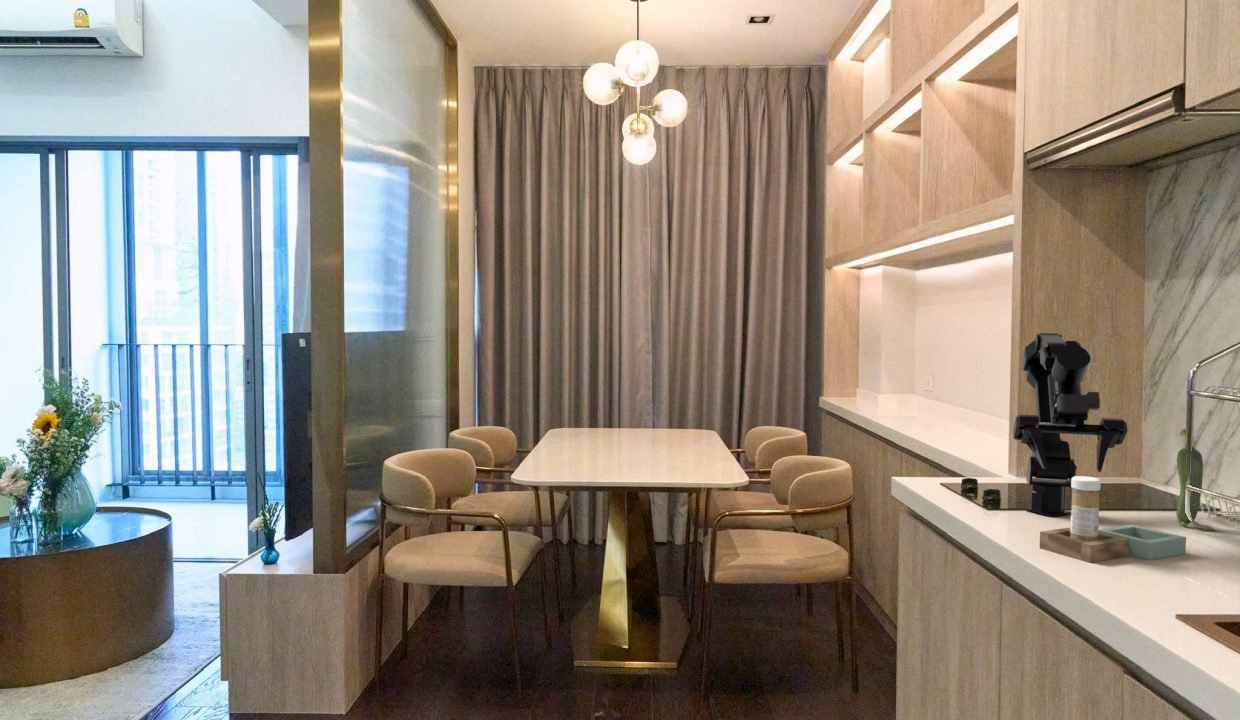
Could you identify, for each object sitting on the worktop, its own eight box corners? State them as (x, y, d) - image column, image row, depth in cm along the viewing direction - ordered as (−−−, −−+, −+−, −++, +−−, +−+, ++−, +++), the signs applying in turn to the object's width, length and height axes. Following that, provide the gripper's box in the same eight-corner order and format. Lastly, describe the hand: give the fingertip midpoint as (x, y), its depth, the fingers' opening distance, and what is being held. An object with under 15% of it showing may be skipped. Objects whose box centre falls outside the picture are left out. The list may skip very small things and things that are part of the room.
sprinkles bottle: (1078, 547, 153) (1081, 474, 152) (1103, 553, 149) (1106, 478, 148) (1063, 550, 151) (1066, 476, 150) (1088, 557, 147) (1090, 481, 146)
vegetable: (1199, 526, 169) (1203, 428, 168) (1201, 531, 165) (1205, 430, 164) (1173, 523, 171) (1177, 426, 170) (1174, 528, 168) (1178, 429, 167)
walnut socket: (1077, 542, 157) (1077, 526, 156) (1128, 556, 147) (1129, 539, 147) (1039, 547, 152) (1040, 531, 152) (1090, 562, 143) (1090, 545, 143)
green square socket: (1131, 540, 158) (1131, 524, 158) (1185, 553, 149) (1186, 537, 149) (1095, 545, 154) (1096, 529, 154) (1149, 560, 145) (1149, 543, 145)
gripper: (1017, 374, 160) (1021, 446, 152) (1129, 377, 154) (1139, 452, 146) (1011, 403, 169) (1014, 473, 161) (1116, 407, 163) (1125, 480, 155)
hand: (1071, 469), depth 155 cm, fingers open, 9 cm apart
